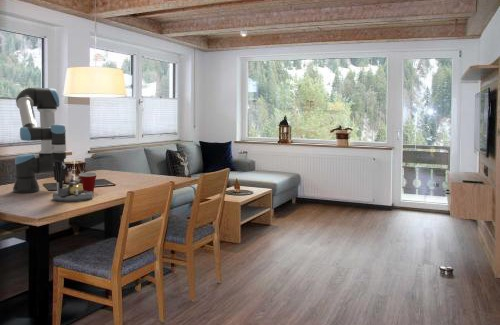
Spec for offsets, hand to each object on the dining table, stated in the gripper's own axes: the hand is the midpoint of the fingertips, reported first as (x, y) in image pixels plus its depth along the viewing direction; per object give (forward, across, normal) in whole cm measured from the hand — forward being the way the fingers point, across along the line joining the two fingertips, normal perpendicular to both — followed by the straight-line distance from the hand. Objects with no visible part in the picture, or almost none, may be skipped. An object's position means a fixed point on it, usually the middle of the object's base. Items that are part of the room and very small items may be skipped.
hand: (59, 193), depth 266 cm
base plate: (+5, -2, +9) cm, 10 cm away
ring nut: (+1, 0, +6) cm, 6 cm away
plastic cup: (+5, -13, +25) cm, 29 cm away
